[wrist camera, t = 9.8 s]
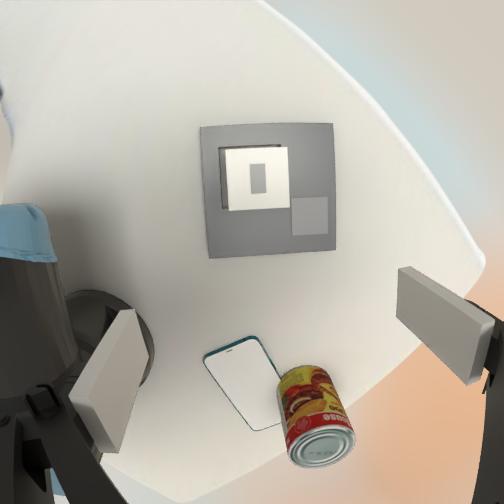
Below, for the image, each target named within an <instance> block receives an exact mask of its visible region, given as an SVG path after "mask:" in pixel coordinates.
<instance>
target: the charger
mask: <svg viewBox="0 0 504 504" xmlns="http://www.w3.org/2000/svg"><path fill="white" fill-rule="evenodd" d="M225 153H226V171H227V187H228V203H229V211H235V210H251V209H269V208H288V207H290V198H289V173H288V151H287V147H270V148H246V149H229V150H225Z"/></svg>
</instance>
